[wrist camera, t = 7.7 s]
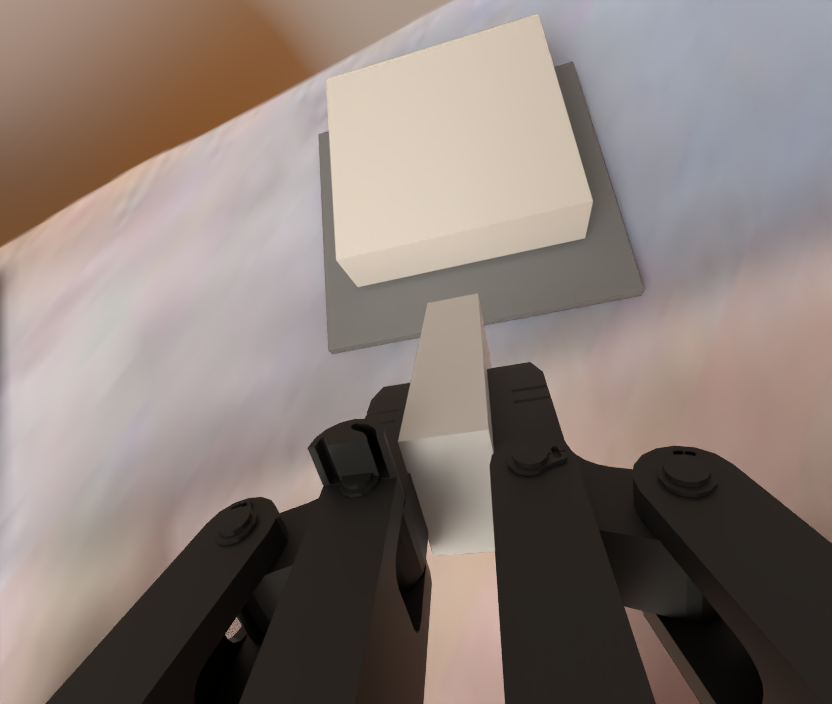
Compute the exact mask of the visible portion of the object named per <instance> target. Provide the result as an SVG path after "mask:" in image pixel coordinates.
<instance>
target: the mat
mask: <svg viewBox="0 0 832 704" xmlns="http://www.w3.org/2000/svg"><path fill="white" fill-rule="evenodd" d="M554 69H555V73H556V76H557V80H558V83H559V86H560V90H561V93H562V97H563V100H564V104H565V107H566V110H567V114H568V117H569V121H570V124H571V128H572V131H573V134H574V138H575V141H576V145H577V148H578V152H579V155H580V158H581V162H582V165H583V169H584V172H585V175H586V179H587V182H588V186H589V189H590V193H591V196H592V199H593V204H592V208H591V213H590V218H589V223H588V227H587V232H586V237H585V238H584V239H580V240H575V241H570V242H566V243H561V244H556V245H552V246H547V247H542V248H538V249H533V250H529V251H524V252H519V253H515V254H510V255H505V256H501V257H496V258H491V259H487V260H482V261H478V262H473V263H468V264H464V265H459V266H454V267H450V268H445V269H440V270H436V271H431V272H427V273H422V274H417V275H413V276H408V277H403V278H399V279H394V280H389V281H385V282H380V283H376V284H371V285H366V286H362V287H357V286H356V285H355V283H354V282H353V281H352V280H351V278H350V277H349V276H348V275H347V273H346V272H345V271H344V269H343V268H342V267H341V266H340V264H339V263H338V262H337V261H336V249H335V231H334V213H333V195H332V177H331V159H330V141H329V132H325V133H322V134H319V156H320V178H321V200H322V222H323V244H324V266H325V288H326V310H327V332H328V351H330V352H331V353H332V354H334V353H340V352H345V351H350V350H356V349H361V348H366V347H371V346H377V345H382V344H387V343H393V342H398V341H403V340H408V339H414V338H419V337H420V336H421V331H422V326H423V322H424V317H425V312H426V308H427V303H430V302H435V301H441V300H446V299H451V298H456V297H461V296H467V295H472V294H477V293H478V295H479V301H480V306H481V311H482V317H483V322H484V325H488V324H493V323H498V322H503V321H509V320H514V319H519V318H525V317H530V316H535V315H540V314H546V313H551V312H556V311H562V310H567V309H572V308H577V307H583V306H588V305H593V304H599V303H604V302H609V301H614V300H620V299H625V298H630V297H636V296H641V295H642V293H643V291H644V288H643V285H642V281H641V278H640V275H639V272H638V269H637V265H636V262H635V259H634V256H633V253H632V249H631V246H630V243H629V240H628V237H627V233H626V230H625V227H624V224H623V221H622V217H621V214H620V211H619V208H618V205H617V201H616V198H615V195H614V192H613V189H612V185H611V182H610V179H609V176H608V173H607V169H606V166H605V163H604V160H603V157H602V154H601V150H600V147H599V144H598V141H597V138H596V134H595V131H594V128H593V125H592V122H591V118H590V115H589V112H588V109H587V106H586V102H585V99H584V96H583V93H582V90H581V86H580V83H579V80H578V77H577V74H576V70H575V67H574V64H573V62H570V63H567V64H563V65H560V66H556V67H554Z"/></svg>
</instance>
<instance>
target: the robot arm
mask: <svg viewBox="0 0 832 704" xmlns="http://www.w3.org/2000/svg"><path fill="white" fill-rule="evenodd" d="M308 450H309V452H310V455H311V457H312V460H313V462H314V464H315V467H316V469H317V472H318V474H319V476H320V479H321V481H322V484H323V489H322V491H321V494H320V497H319V498H318V499H316V500H314V501H312V502H309V503H307V504H304V505H301V506H298V507H296V508H293V509H290V510H287V511H285V512H282V513H279V512H278V510H277V508H276V506H275V505H274V503H273V502H272V500H269V499H266V498H263V497H256V498H248V499H245V500H242V501H239V502H236V503H234V504H232V505H230V506H229V507H227V508H225V509H224V510H222V511H220V512H219V513H218V514H217V515H216V516H215V517H214V518H212V519H211V520H210V521H209V522H208V523H207V524H206V525H205V526H204V527H203V529H202V530H201V531H200V532H199V533H198V534H197V535H196V536H195V537H194V539H193V540H192V541H191V542H190V543H189V544H188V545H187V546H186V548H185V549H184V550H183V551H182V552H181V553H180V554H179V555H178V556H177V558H176V559H175V560H174V561H173V562H172V563H171V564H170V565H169V567H168V568H167V569H166V570H165V571H164V572H163V573H162V574H161V575H160V577H159V578H158V579H157V580H156V581H155V582H154V583H153V584H152V586H151V587H150V588H149V589H148V590H147V591H146V592H145V593H144V594H143V596H142V597H141V598H140V599H139V600H138V601H137V602H136V603H135V605H134V606H133V607H132V608H131V609H130V610H129V611H128V612H127V613H126V615H125V616H124V617H123V618H122V619H121V620H120V621H119V622H118V624H117V625H116V626H115V627H114V628H113V629H112V630H111V631H110V632H109V634H108V635H107V636H106V637H105V638H104V639H103V640H102V641H101V643H100V644H99V645H98V646H97V647H96V648H95V649H94V650H93V651H92V653H91V654H90V655H89V656H88V657H87V658H86V659H85V660H84V661H83V663H82V664H81V665H80V666H79V667H78V668H77V669H76V670H75V672H74V673H73V674H72V675H71V676H70V677H69V678H68V679H67V680H66V682H65V683H64V684H63V685H62V686H61V687H60V688H59V689H58V691H57V692H56V693H55V694H54V695H53V696H52V697H51V698H50V699H49V701H48V702H47V703H46V704H423V701H424V687H425V673H426V658H427V644H428V630H429V616H430V601H431V587H432V581H431V575H430V570H429V567H428V564H427V561H426V553H427V542H428V540H429V543H430V546H431V550H432V553H433V556H444V555H456V554H468V553H480V552H492V551H495V558H496V573H497V588H498V603H499V618H500V633H501V648H502V663H503V678H504V693H505V704H656V703H655V700H654V697H653V694H652V691H651V688H650V685H649V681H648V678H647V675H646V672H645V669H644V666H643V663H642V660H641V657H640V654H639V651H638V648H637V645H636V642H635V639H634V636H633V633H632V629H631V626H630V623H629V620H628V617H627V614H626V611H625V608H624V606H625V607H629V608H633V609H638V610H642V612H643V614H644V616H645V618H646V619H647V621H648V623H649V624H650V626H651V627H652V629H653V630H654V632H655V634H656V635H657V637H658V638H659V640H660V641H661V643H662V644H663V646H664V648H665V649H666V651H667V652H668V654H669V655H670V657H671V658H672V660H673V662H674V663H675V665H676V666H677V668H678V669H679V671H680V673H681V674H682V676H683V677H684V679H685V680H686V682H687V683H688V685H689V687H690V688H691V690H692V691H693V693H694V694H695V696H696V698H697V699H698V701H699V702H700V704H832V543H830V542H829V541H828V540H827V539H826V538H824V537H823V536H822V535H821V534H819V533H818V532H817V531H816V530H814V529H813V528H812V527H811V526H809V525H808V524H807V523H806V522H804V521H803V520H802V519H801V518H799V517H798V516H797V515H796V514H794V513H793V512H792V511H791V510H789V509H788V508H787V507H786V506H784V505H783V504H782V503H781V502H779V501H778V500H777V499H776V498H774V497H773V496H772V495H771V494H770V493H768V492H767V491H766V490H765V489H763V488H762V487H761V486H760V485H758V484H757V483H756V482H755V481H753V480H752V479H751V478H750V477H748V476H747V475H746V474H745V473H743V472H742V471H741V470H740V469H738V468H737V467H736V466H735V465H733V464H732V463H730V462H729V461H727V460H725V459H724V458H722V457H720V456H718V455H717V454H715V453H711V452H708V451H705V450H701V449H698V448H694V447H682V446H670V447H663V448H656V449H654V450H652V451H650V452H648V453H646V454H644V455H642V456H641V457H640V458H639V459H638V461H637V462H636V463H635V464H634V468H633V469H624V468H615V467H608V466H603V465H597V464H595V463H592V462H589V461H586V460H584V459H582V458H581V457H579V456H577V455H576V454H575V453H574V452H572V451H571V449H570V448H569V446H568V445H567V444H566V442H565V440H564V437H563V434H562V431H561V428H560V425H559V421H558V418H557V415H556V412H555V409H554V406H553V402H552V399H551V397H550V393H549V390H548V387H547V383H546V380H545V377H544V374H543V371H541V370H540V369H539V368H537V367H536V366H535V365H533V364H532V363H531V362H528V363H522V364H516V365H509V366H503V367H497V368H492V365H491V360H490V354H489V349H488V344H487V338H486V333H485V327H484V322H483V317H482V311H481V306H480V301H479V295H478V293H477V294H472V295H467V296H461V297H456V298H451V299H446V300H441V301H435V302H430V303H427V308H426V312H425V317H424V322H423V326H422V331H421V336H420V341H419V345H418V350H417V355H416V359H415V364H414V369H413V373H412V378H411V383H406V384H400V385H393V386H387V387H383V388H382V389H381V390H380V391H379V392H378V393H377V394H376V396H375V397H374V398H373V399H372V400H371V403H370V406H369V409H368V411H367V416H366V417H365V419H354V420H350V421H346V422H342V423H339V424H337V425H335V426H333V427H331V428H329V429H326V430H325V431H324V432H322V433H321V434H320V435H319V436H317V437H316V438H315V439H314V440H313V442H312V443H311V444H310V446H309V447H308ZM236 617H237V618H238V620H239V621H240V623H241V624H242V626H241V628H240V629H239V631H238V632H237V633H236V634H235V635H234V636H233V637H232V638H230V639H227V637H226V636H225V633H226V632H227V630H228V629H229V627H230V626H231V624H232V623H233V621H234V620H235V619H236Z"/></svg>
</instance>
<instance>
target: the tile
mask: <svg viewBox="0 0 832 704" xmlns="http://www.w3.org/2000/svg"><path fill="white" fill-rule="evenodd" d="M326 87H327V105H328V123H329V141H330V159H331V177H332V195H333V213H334V231H335V249H336V261H337V262H338V263H339V264H340V266H341V267H342V268H343V269H344V271H345V272H346V273H347V275H348V276H349V277H350V278H351V280H352V281H353V282H354V283H355V285H356V286H357V287H362V286H366V285H371V284H376V283H380V282H385V281H389V280H394V279H399V278H403V277H408V276H413V275H417V274H422V273H427V272H431V271H436V270H440V269H445V268H450V267H454V266H459V265H464V264H468V263H473V262H478V261H482V260H487V259H491V258H496V257H501V256H505V255H510V254H515V253H519V252H524V251H529V250H533V249H538V248H542V247H547V246H552V245H556V244H561V243H566V242H570V241H575V240H580V239H584V238H585V237H586V232H587V227H588V223H589V218H590V213H591V208H592V204H593V199H592V196H591V193H590V189H589V186H588V182H587V179H586V175H585V172H584V169H583V165H582V162H581V158H580V155H579V152H578V148H577V145H576V141H575V138H574V134H573V131H572V128H571V124H570V121H569V117H568V114H567V110H566V107H565V104H564V100H563V97H562V93H561V90H560V86H559V83H558V80H557V76H556V73H555V69H554V66H553V62H552V59H551V56H550V52H549V49H548V45H547V42H546V38H545V35H544V32H543V28H542V25H541V21H540V18H539V14H536V15H533V16H529V17H526V18H523V19H520V20H516V21H513V22H510V23H507V24H503V25H500V26H497V27H494V28H490V29H487V30H484V31H481V32H478V33H474V34H471V35H468V36H465V37H461V38H458V39H455V40H452V41H448V42H445V43H442V44H439V45H435V46H432V47H429V48H426V49H422V50H419V51H416V52H413V53H409V54H406V55H403V56H400V57H397V58H393V59H390V60H387V61H384V62H380V63H377V64H374V65H371V66H367V67H364V68H361V69H358V70H354V71H351V72H348V73H345V74H341V75H338V76H335V77H332V78H328V79H326Z"/></svg>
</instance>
